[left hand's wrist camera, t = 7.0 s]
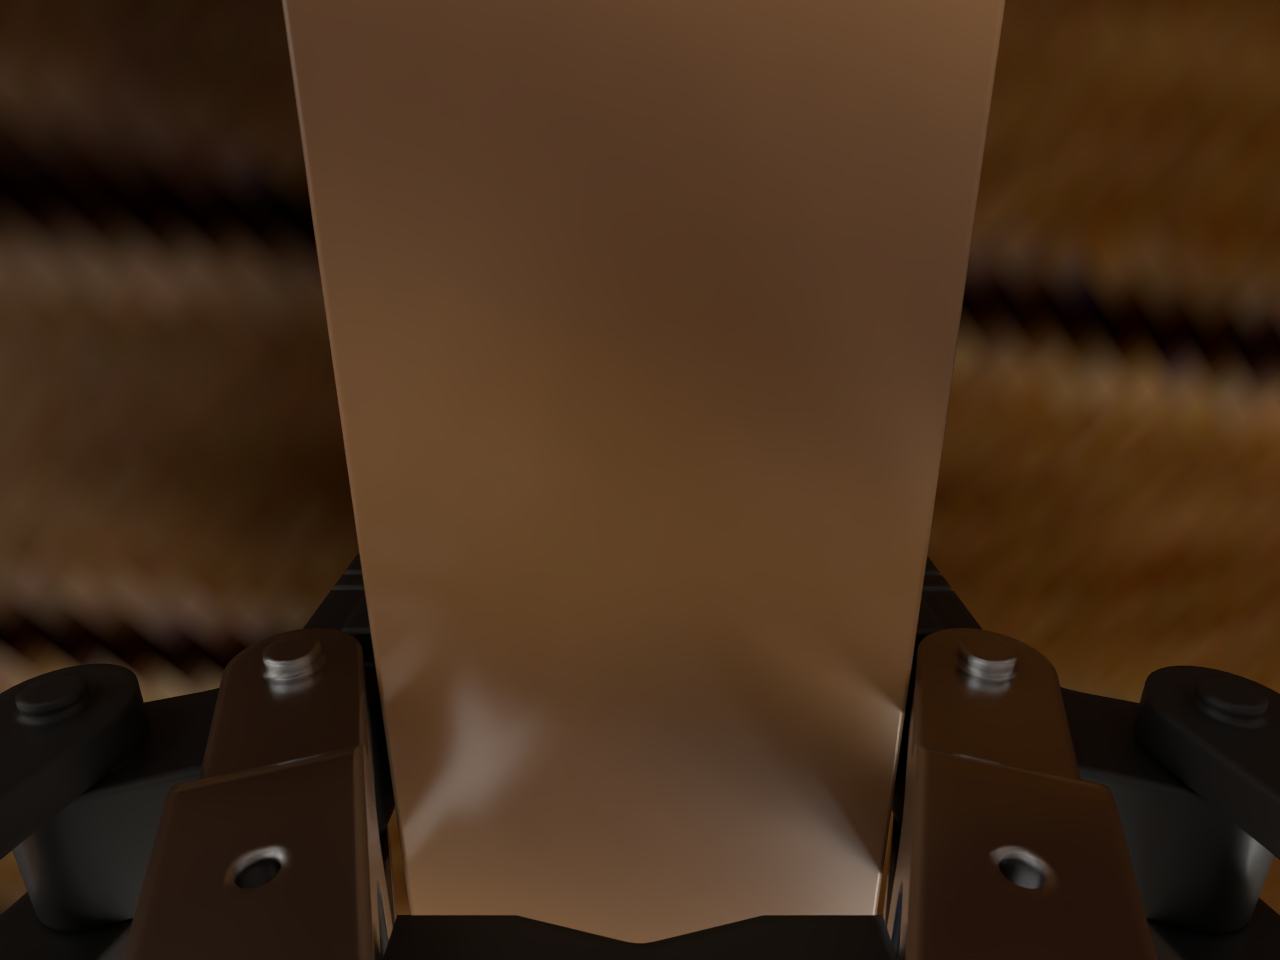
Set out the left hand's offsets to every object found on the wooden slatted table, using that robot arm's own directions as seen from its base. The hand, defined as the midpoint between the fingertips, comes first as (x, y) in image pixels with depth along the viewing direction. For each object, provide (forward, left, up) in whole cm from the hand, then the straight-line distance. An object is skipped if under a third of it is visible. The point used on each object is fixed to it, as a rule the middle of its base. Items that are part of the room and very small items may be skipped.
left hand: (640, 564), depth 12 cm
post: (+23, +5, -2) cm, 24 cm away
